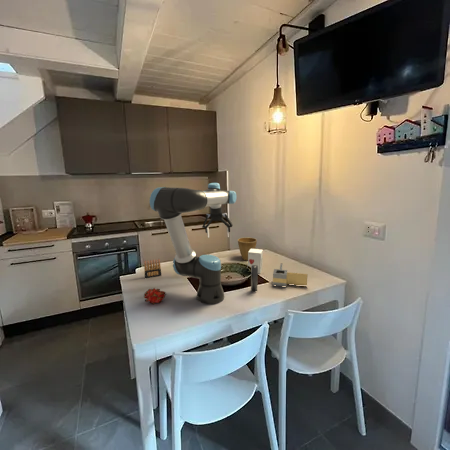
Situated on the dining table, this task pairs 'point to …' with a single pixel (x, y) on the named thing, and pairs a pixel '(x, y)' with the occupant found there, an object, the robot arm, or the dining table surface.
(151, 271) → the ammunition clip
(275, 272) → the hinge
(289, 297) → the dining table surface
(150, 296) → the dragon fruit
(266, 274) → the dining table surface
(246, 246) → the plant pot
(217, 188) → the robot arm
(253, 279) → the hinge pin
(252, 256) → the supplement box
